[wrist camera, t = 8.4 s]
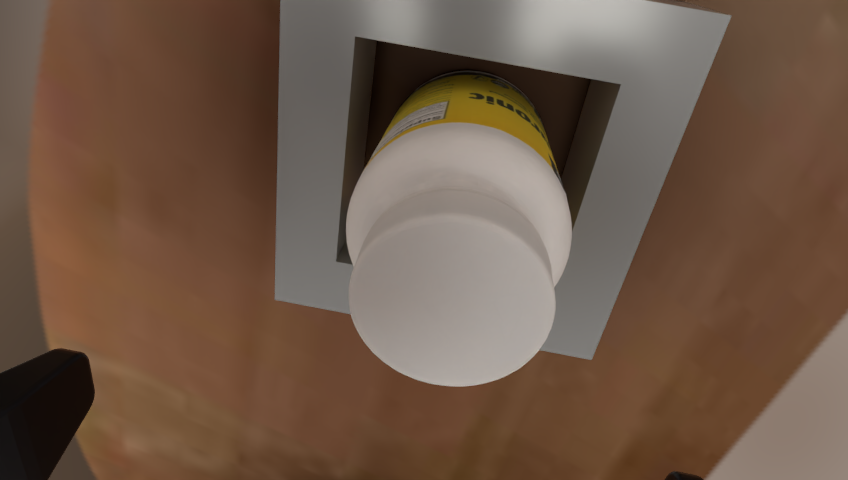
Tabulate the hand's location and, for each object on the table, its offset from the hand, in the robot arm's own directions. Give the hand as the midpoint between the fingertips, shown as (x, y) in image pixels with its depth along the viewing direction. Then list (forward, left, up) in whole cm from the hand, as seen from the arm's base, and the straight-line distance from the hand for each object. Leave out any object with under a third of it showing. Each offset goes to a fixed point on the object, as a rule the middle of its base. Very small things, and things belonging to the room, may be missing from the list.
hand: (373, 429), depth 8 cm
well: (+1, -1, -12) cm, 12 cm away
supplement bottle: (+1, -1, -13) cm, 13 cm away
